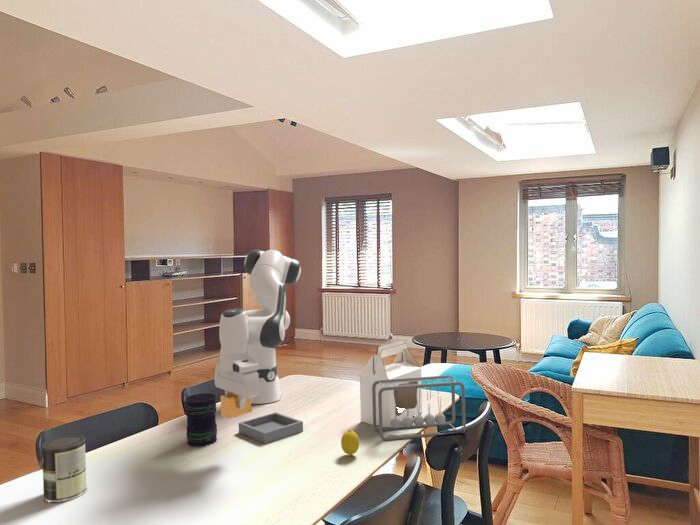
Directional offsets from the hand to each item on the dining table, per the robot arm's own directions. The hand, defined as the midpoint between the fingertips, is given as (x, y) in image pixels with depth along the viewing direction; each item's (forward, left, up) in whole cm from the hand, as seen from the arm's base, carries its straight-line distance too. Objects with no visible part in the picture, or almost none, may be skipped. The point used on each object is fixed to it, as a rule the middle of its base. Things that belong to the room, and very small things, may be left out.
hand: (236, 406), depth 160 cm
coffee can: (-13, -45, -16) cm, 49 cm away
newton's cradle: (+28, +54, -16) cm, 63 cm away
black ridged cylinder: (-21, -1, -16) cm, 26 cm away
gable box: (+10, +60, -16) cm, 63 cm away
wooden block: (0, 0, -2) cm, 2 cm away
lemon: (+25, +24, -16) cm, 38 cm away
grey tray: (-11, +20, -16) cm, 28 cm away
